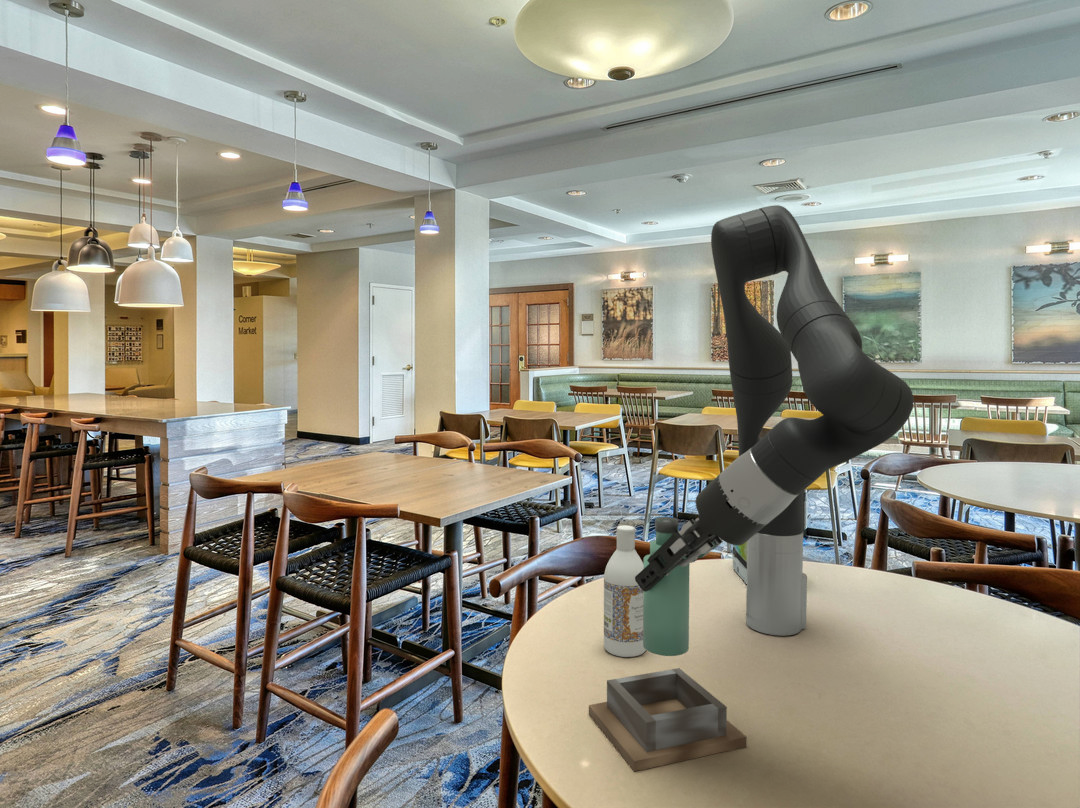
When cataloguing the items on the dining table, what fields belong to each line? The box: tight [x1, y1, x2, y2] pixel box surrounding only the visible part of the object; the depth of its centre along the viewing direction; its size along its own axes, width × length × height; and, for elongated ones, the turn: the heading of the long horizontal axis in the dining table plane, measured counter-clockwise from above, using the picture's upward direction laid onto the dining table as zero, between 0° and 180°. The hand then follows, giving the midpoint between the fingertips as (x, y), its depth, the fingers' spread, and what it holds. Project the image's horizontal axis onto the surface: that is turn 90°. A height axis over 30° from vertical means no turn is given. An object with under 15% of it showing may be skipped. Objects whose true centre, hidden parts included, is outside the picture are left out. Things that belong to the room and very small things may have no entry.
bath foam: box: [603, 524, 647, 658], centre depth 105 cm, size 7×7×20 cm
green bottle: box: [643, 516, 691, 657], centre depth 80 cm, size 6×6×16 cm
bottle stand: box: [588, 667, 748, 772], centre depth 81 cm, size 15×13×5 cm
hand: (653, 578), depth 82 cm, fingers closed on green bottle, 5 cm apart
